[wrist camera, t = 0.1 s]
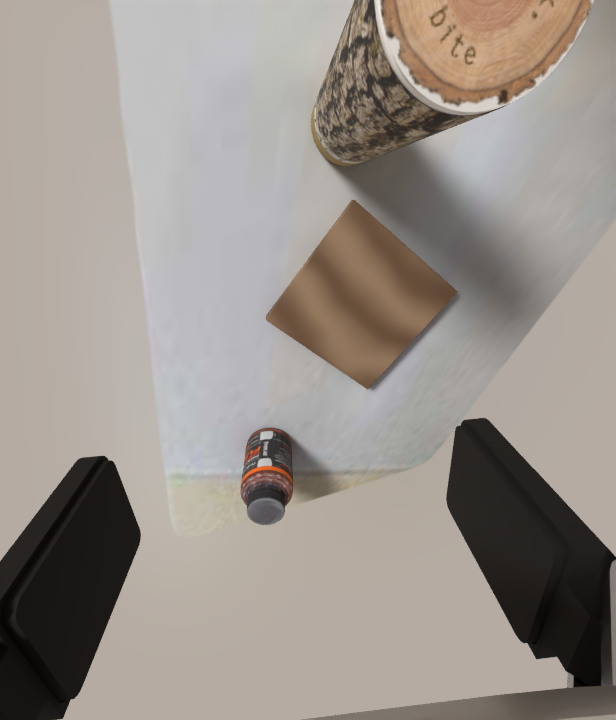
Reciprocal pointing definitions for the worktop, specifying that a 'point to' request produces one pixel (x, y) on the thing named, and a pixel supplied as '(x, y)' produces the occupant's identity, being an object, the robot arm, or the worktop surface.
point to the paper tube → (434, 68)
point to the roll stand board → (360, 297)
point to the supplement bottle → (267, 476)
